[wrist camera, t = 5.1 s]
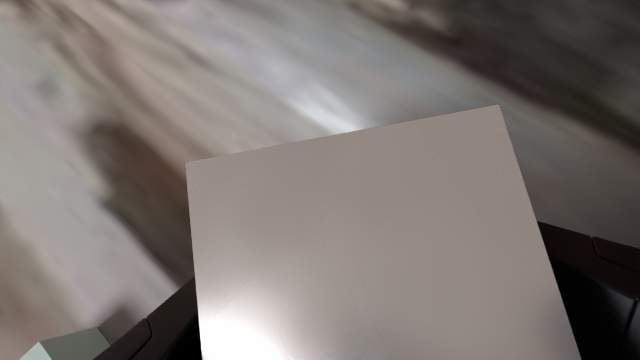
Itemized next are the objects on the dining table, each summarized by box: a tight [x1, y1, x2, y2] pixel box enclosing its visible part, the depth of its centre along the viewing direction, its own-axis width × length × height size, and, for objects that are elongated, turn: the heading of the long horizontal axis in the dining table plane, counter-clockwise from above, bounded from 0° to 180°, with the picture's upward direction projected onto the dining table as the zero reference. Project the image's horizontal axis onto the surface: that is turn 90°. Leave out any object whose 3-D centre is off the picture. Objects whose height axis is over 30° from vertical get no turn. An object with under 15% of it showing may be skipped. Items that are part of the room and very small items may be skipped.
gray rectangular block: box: [185, 104, 581, 360], centre depth 11 cm, size 6×6×11 cm
